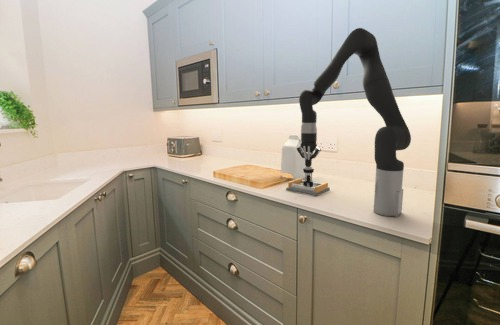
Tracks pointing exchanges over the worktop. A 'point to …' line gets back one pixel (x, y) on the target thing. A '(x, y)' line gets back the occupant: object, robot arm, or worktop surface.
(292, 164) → the milk
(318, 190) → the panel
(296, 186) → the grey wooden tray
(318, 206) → the worktop surface
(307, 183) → the dark piece
